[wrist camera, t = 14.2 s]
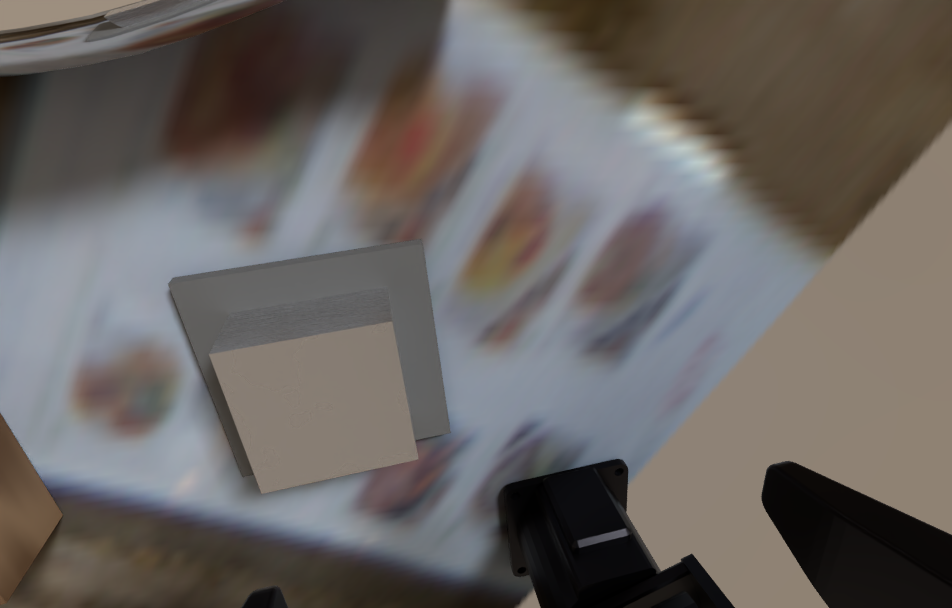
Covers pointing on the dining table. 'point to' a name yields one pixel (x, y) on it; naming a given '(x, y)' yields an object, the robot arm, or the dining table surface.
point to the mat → (317, 277)
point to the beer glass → (104, 29)
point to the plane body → (21, 513)
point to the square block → (316, 388)
